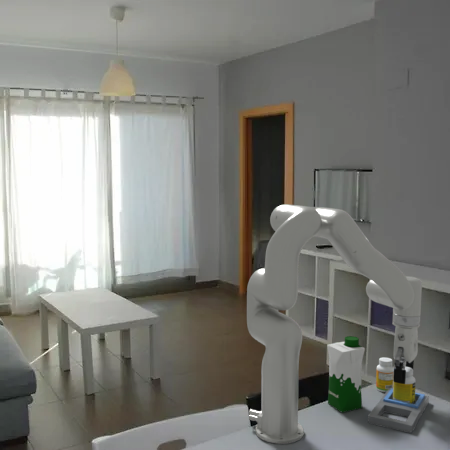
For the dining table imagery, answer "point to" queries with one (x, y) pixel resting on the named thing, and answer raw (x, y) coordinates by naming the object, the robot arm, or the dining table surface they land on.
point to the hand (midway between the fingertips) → (403, 377)
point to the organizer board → (398, 412)
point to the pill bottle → (405, 388)
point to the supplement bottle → (384, 374)
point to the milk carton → (345, 374)
